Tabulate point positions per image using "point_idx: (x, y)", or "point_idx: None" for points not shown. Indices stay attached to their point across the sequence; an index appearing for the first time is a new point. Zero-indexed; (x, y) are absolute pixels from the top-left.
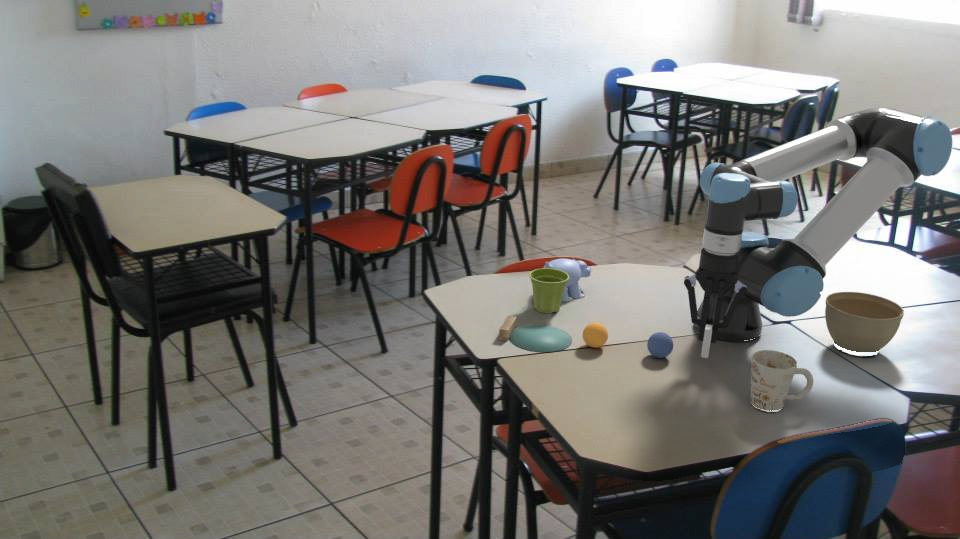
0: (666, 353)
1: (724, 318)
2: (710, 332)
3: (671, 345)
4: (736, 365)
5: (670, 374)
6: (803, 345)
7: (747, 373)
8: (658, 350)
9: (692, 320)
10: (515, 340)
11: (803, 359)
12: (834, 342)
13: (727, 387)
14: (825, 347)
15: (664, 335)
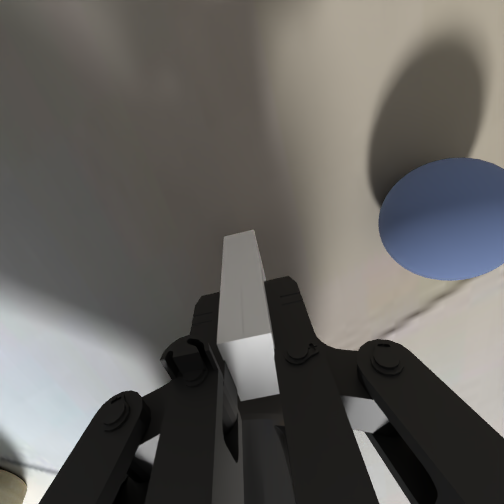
0: (403, 180)
1: (110, 501)
2: (227, 324)
3: (404, 215)
4: (143, 286)
5: (349, 44)
6: (68, 451)
7: (81, 252)
8: (455, 160)
9: (409, 361)
10: None
11: (19, 405)
12: (2, 486)
13: (66, 64)
14: (26, 463)
15: (478, 237)
